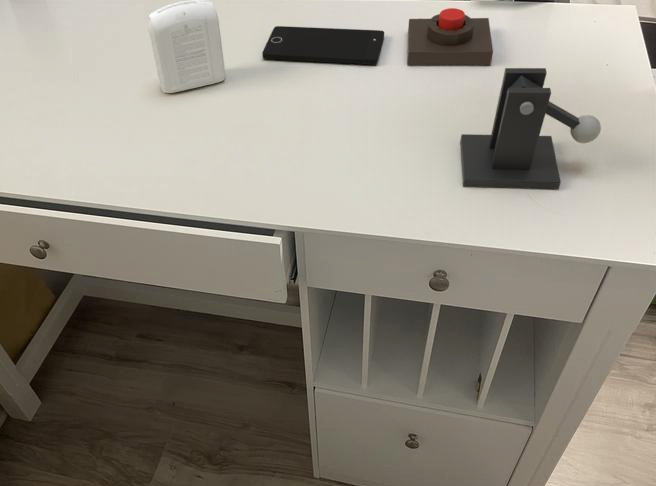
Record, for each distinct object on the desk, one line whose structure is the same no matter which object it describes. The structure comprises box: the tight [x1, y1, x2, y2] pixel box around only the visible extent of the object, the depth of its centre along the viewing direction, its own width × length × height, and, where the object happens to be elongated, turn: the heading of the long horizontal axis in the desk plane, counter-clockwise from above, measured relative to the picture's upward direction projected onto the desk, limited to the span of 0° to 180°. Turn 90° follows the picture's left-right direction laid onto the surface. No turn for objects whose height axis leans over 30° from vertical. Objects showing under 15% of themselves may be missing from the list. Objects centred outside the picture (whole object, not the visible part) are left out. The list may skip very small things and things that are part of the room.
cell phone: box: [261, 25, 385, 66], centre depth 105 cm, size 9×18×1 cm, turn 75°
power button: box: [438, 7, 466, 30], centre depth 98 cm, size 4×4×2 cm
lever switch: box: [507, 76, 602, 144], centre depth 77 cm, size 12×3×3 cm
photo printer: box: [147, 0, 226, 94], centre depth 97 cm, size 10×4×12 cm, turn 106°
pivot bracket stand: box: [459, 67, 562, 190], centre depth 79 cm, size 11×9×12 cm
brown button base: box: [406, 13, 494, 66], centre depth 100 cm, size 12×10×4 cm
